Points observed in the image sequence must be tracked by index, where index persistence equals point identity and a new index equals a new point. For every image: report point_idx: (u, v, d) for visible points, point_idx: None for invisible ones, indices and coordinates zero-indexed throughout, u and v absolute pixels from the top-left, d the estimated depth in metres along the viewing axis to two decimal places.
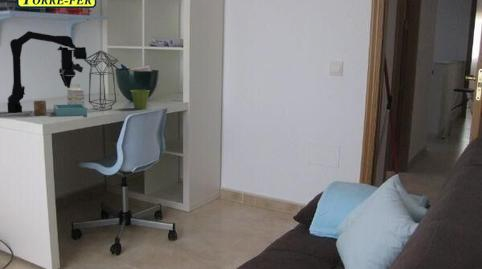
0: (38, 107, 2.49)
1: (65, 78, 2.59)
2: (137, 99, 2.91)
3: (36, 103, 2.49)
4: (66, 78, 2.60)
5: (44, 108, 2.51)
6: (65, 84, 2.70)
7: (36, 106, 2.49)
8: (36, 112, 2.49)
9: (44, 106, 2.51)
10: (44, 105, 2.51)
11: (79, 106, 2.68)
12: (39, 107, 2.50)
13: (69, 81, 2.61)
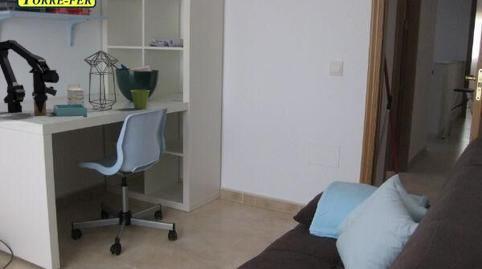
0: None
1: (37, 102, 2.47)
2: (137, 99, 2.91)
3: None
4: (38, 102, 2.47)
5: (44, 108, 2.51)
6: None
7: (36, 106, 2.49)
8: (36, 112, 2.49)
9: (44, 106, 2.51)
10: (44, 105, 2.51)
11: (79, 106, 2.68)
12: None
13: (41, 105, 2.49)
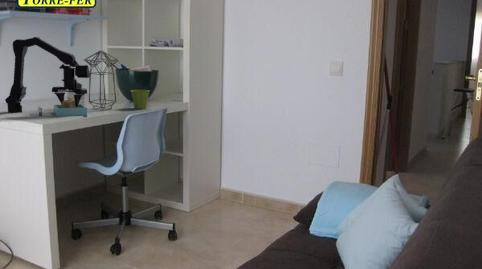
0: (72, 106, 2.57)
1: (77, 97, 2.55)
2: (137, 99, 2.91)
3: (71, 102, 2.56)
4: (77, 97, 2.55)
5: (76, 107, 2.60)
6: None
7: (71, 105, 2.56)
8: None
9: None
10: None
11: (79, 106, 2.68)
12: (73, 106, 2.58)
13: (78, 100, 2.57)
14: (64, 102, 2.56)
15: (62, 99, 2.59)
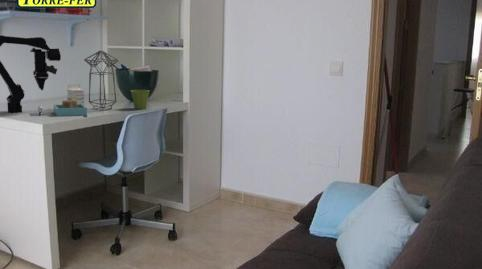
0: (72, 106, 2.57)
1: (38, 80, 2.56)
2: (137, 99, 2.91)
3: (71, 102, 2.56)
4: (39, 80, 2.56)
5: (76, 107, 2.60)
6: (39, 86, 2.66)
7: (71, 105, 2.56)
8: None
9: (76, 105, 2.60)
10: (76, 104, 2.60)
11: (79, 106, 2.68)
12: (73, 106, 2.58)
13: (42, 83, 2.57)
14: (64, 102, 2.56)
15: None
